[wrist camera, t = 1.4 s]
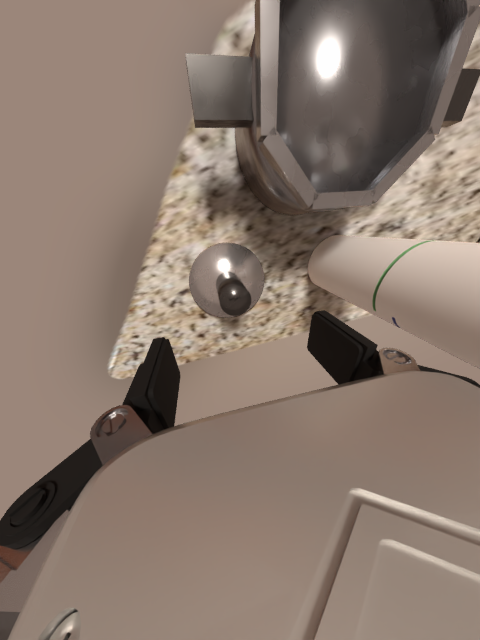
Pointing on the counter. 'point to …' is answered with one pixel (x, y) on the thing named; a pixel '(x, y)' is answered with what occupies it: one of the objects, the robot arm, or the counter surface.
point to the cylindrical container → (408, 286)
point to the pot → (337, 95)
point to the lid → (226, 279)
